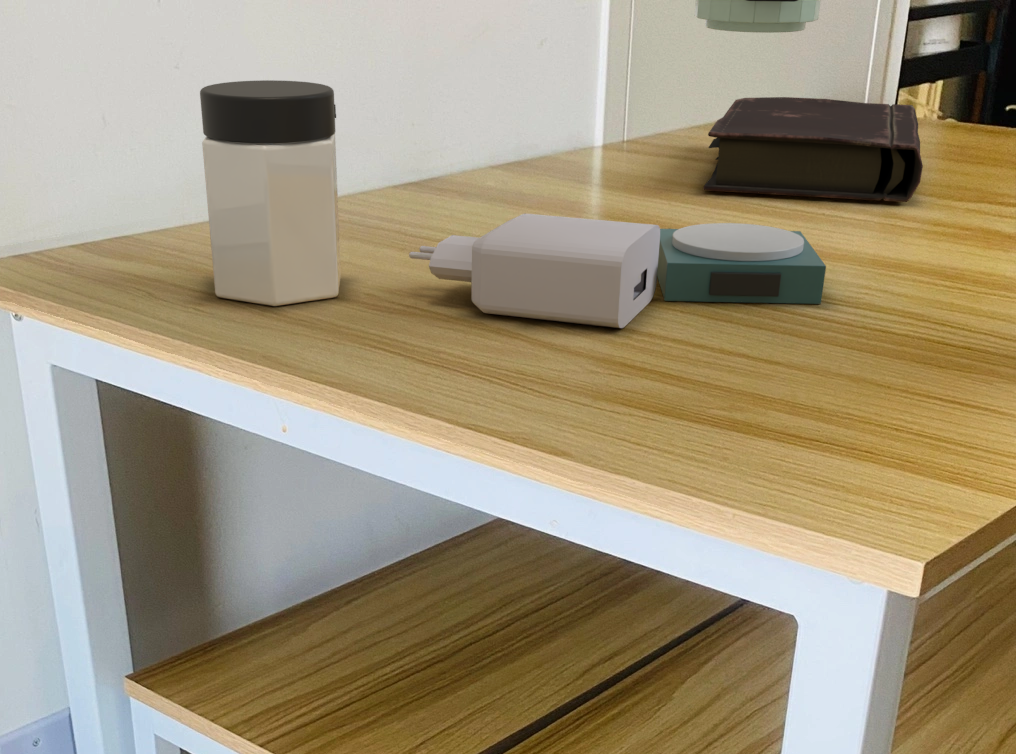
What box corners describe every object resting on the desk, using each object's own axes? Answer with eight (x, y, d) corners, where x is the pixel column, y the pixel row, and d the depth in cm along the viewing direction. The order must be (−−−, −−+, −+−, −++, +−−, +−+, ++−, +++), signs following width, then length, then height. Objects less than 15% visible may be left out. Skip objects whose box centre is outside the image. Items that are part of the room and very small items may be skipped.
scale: (796, 266, 96) (801, 222, 95) (821, 305, 87) (828, 257, 86) (653, 263, 96) (656, 219, 95) (664, 302, 88) (668, 254, 86)
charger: (441, 274, 93) (656, 296, 89) (387, 308, 86) (618, 334, 81) (441, 201, 91) (662, 220, 86) (385, 229, 83) (623, 251, 79)
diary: (912, 157, 135) (921, 101, 132) (916, 206, 114) (927, 141, 112) (722, 147, 139) (727, 93, 136) (693, 193, 118) (698, 130, 116)
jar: (371, 283, 91) (365, 86, 85) (303, 312, 85) (291, 101, 78) (259, 267, 94) (245, 76, 88) (186, 294, 88) (166, 90, 82)
